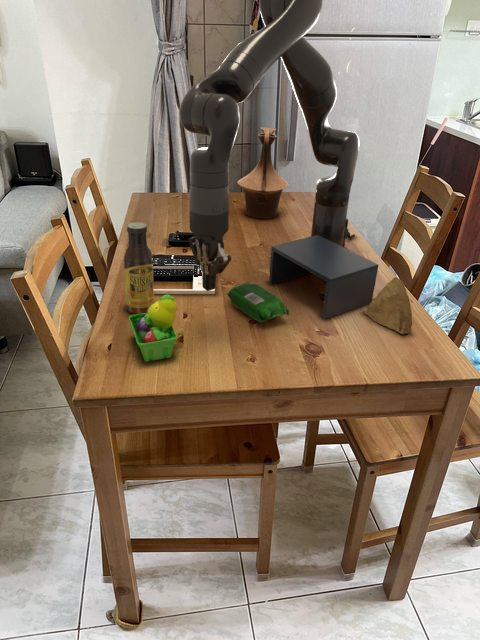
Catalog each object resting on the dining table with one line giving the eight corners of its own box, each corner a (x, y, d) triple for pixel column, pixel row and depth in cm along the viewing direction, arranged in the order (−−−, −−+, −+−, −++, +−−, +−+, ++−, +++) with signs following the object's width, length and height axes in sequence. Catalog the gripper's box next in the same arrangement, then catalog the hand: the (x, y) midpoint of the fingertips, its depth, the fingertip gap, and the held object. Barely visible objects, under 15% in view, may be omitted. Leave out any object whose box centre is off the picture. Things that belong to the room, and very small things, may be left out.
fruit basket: (129, 336, 106) (125, 287, 100) (171, 329, 109) (169, 282, 103) (139, 367, 97) (135, 316, 91) (185, 359, 100) (183, 309, 94)
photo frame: (214, 289, 122) (139, 289, 121) (214, 294, 123) (139, 293, 122) (214, 264, 135) (145, 263, 134) (214, 268, 135) (146, 267, 134)
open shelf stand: (313, 269, 137) (317, 234, 131) (371, 302, 122) (378, 264, 117) (268, 282, 129) (271, 246, 124) (324, 319, 114) (330, 279, 109)
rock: (427, 327, 108) (414, 299, 116) (411, 301, 104) (398, 274, 111) (380, 349, 112) (370, 321, 120) (363, 325, 108) (354, 297, 115)
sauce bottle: (131, 317, 112) (123, 232, 102) (123, 305, 117) (114, 222, 107) (159, 311, 115) (154, 228, 105) (150, 299, 120) (145, 218, 109)
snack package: (264, 332, 109) (266, 311, 106) (223, 302, 120) (224, 282, 117) (290, 323, 113) (292, 303, 110) (248, 294, 123) (249, 275, 121)
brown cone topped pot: (288, 223, 166) (295, 134, 152) (236, 221, 166) (238, 132, 152) (284, 206, 181) (291, 123, 167) (237, 204, 181) (239, 121, 167)
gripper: (245, 214, 93) (241, 297, 102) (208, 194, 103) (207, 272, 111) (210, 220, 90) (209, 306, 98) (175, 200, 99) (177, 280, 108)
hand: (208, 288), depth 105 cm, fingers closed
